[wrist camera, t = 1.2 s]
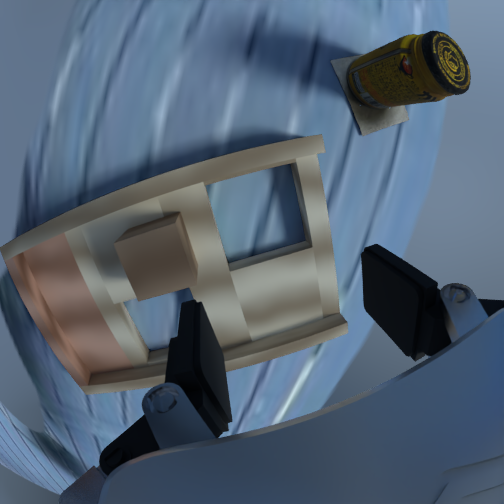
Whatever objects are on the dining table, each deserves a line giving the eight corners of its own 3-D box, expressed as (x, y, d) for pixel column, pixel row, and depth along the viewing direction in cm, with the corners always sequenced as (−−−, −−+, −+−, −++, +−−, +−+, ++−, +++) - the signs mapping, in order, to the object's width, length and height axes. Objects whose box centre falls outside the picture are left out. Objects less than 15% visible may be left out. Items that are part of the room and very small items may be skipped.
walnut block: (127, 229, 22) (113, 243, 18) (180, 211, 22) (175, 223, 18) (147, 279, 24) (138, 301, 20) (198, 264, 24) (197, 285, 20)
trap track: (19, 235, 22) (-1, 247, 18) (304, 136, 23) (321, 134, 20) (93, 373, 29) (86, 394, 25) (333, 313, 31) (347, 332, 27)
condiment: (380, 52, 21) (456, 23, 10) (408, 119, 24) (491, 119, 13) (328, 61, 21) (402, 18, 10) (361, 136, 24) (448, 136, 13)
